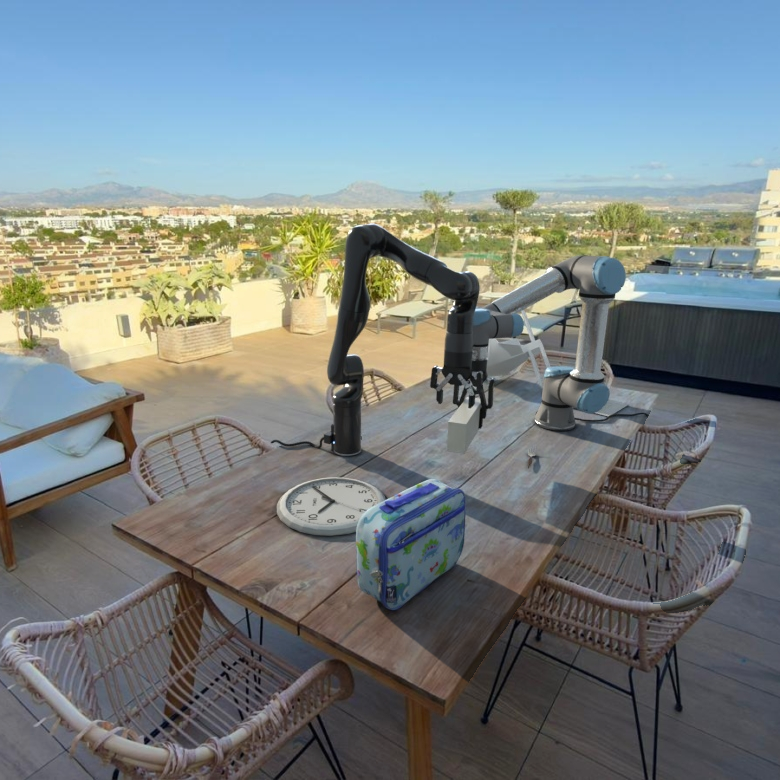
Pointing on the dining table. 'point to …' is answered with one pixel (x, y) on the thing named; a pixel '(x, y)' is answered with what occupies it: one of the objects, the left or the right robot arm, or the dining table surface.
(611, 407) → the invitation card
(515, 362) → the white plastic object
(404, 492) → the lunch box
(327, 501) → the wall clock
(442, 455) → the dining table surface
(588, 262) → the right robot arm
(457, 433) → the bar
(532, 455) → the fork
